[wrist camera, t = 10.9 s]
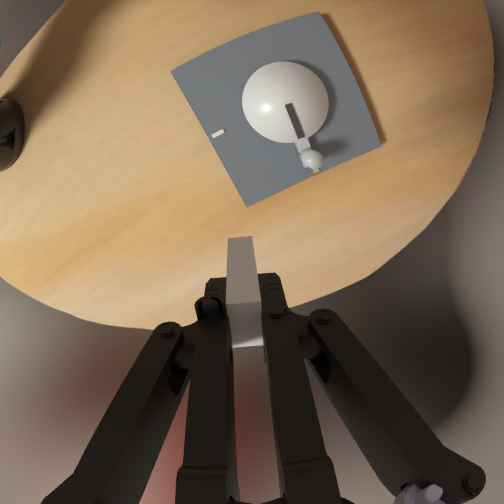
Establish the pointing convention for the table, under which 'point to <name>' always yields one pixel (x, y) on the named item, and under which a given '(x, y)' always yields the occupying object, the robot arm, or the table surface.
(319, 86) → the dial
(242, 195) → the panel
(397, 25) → the table surface
